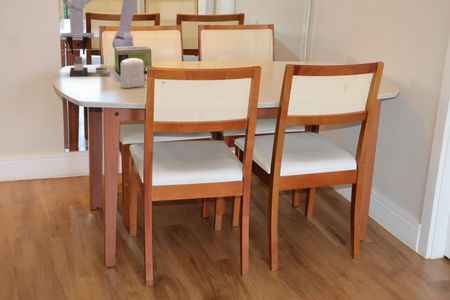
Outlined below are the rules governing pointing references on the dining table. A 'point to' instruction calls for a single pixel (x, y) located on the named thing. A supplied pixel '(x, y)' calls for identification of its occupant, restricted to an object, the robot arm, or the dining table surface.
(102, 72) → the panel
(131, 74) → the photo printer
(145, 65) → the tea box
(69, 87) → the dining table surface
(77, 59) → the plug
